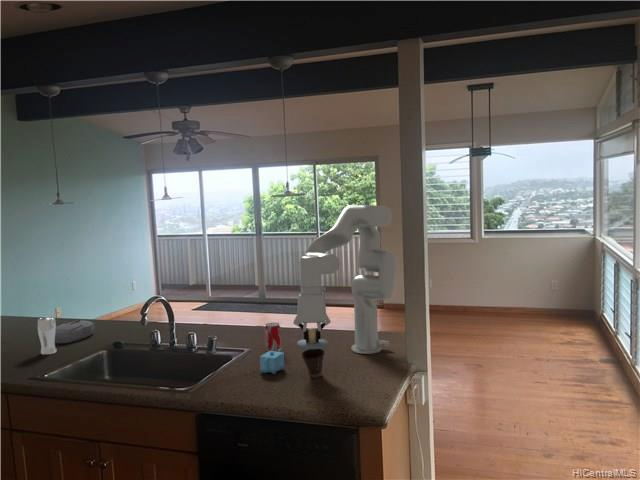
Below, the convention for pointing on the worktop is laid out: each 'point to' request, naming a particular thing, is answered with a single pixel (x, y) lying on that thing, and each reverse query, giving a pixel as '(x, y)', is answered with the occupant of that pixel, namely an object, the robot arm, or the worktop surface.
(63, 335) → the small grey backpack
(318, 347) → the lid
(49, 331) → the beer glass
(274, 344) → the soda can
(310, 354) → the cup
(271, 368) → the light blue box
